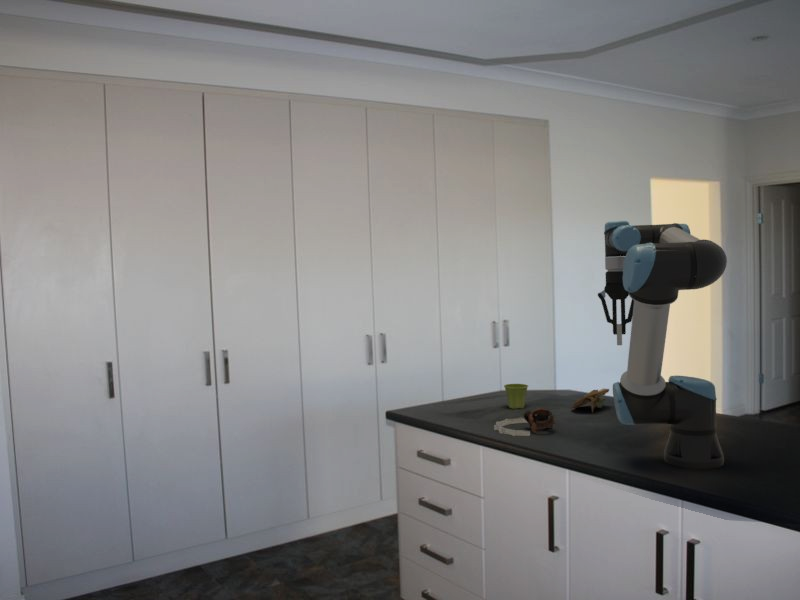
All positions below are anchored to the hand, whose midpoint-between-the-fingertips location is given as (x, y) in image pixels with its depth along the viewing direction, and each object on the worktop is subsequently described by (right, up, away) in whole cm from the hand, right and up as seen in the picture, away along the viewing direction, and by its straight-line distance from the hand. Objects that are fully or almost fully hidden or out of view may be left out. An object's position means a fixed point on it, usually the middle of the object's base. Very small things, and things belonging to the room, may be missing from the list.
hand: (619, 344), depth 214 cm
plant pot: (-24, -28, +51) cm, 63 cm away
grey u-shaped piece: (-31, -30, +17) cm, 46 cm away
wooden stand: (+3, -28, +38) cm, 47 cm away
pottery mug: (-23, -31, +15) cm, 41 cm away
